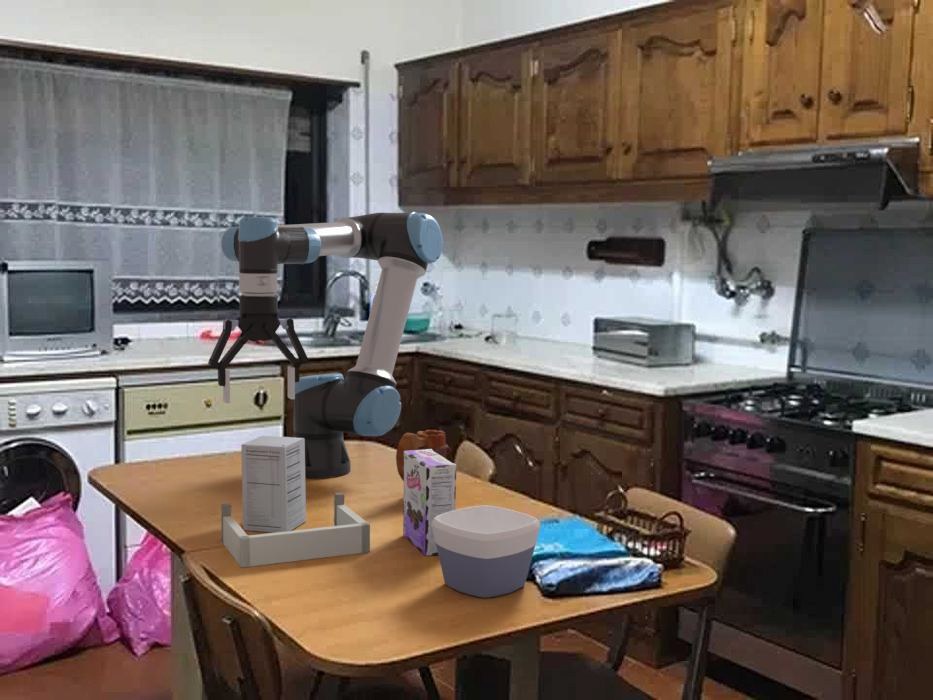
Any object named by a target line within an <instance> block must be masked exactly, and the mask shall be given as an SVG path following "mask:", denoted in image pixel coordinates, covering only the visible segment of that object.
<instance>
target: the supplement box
mask: <svg viewBox="0 0 933 700" xmlns="http://www.w3.org/2000/svg"><path fill="white" fill-rule="evenodd" d="M240 447H241V449H240V450H241V488H242V494H241V497H242V529H243V530H244V531H250V532H252V531H253V532H261V533H262V532H264V533H276V532H285V531H294V530H295V529H296V528H298V527H300V526H301V525H303V524H304V523H306V522H307V504H306V503H307V502H306V498H307V496H306V495H307V494H306V493H307V492H306V491H307V489H306V478H305V439H304V438H294V436H293V437H292V436H291V437H290V436H275V435H260V436H258V437H257V438H253V439H251V440H249V441H246V442H244V443H242V444H241V446H240Z"/></svg>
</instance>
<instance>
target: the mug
mask: <svg viewBox="0 0 933 700" xmlns="http://www.w3.org/2000/svg"><path fill="white" fill-rule="evenodd" d="M446 435H447V434H446V432H445V431H443V430H437V429H426V430H423V431H422V430H419V431H417V432H416V433H413V432H412V433H411V432H405V433H404V434H403V435H402V436H401V438H400V439H399V443H398V445H397V447H396V454H395V461H396V468H397V473H398V475H399V477H400V479H401V480H402V481H403V482H404V451H409V450H421V449H432V450H433V451H434V452H436V453H438V454H439V455H441V456H442V457H444V458H445V459H447V455H448V454H450V453H451V452H452V448H450V447H449V445H448V444H447V442H446V438H447V437H446Z"/></svg>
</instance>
